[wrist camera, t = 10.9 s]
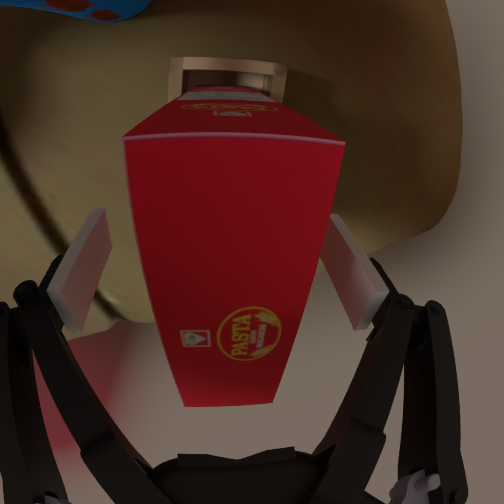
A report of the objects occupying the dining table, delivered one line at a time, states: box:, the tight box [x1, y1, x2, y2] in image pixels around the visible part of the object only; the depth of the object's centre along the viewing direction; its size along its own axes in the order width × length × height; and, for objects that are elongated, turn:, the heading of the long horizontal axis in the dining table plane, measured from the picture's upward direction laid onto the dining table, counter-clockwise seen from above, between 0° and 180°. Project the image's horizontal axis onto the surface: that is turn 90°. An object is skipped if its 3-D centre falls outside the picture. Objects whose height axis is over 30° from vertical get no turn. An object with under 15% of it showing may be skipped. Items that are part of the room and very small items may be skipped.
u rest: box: [167, 57, 288, 104], centre depth 28 cm, size 10×20×6 cm, turn 174°
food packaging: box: [122, 85, 346, 407], centre depth 20 cm, size 15×5×25 cm, turn 176°
